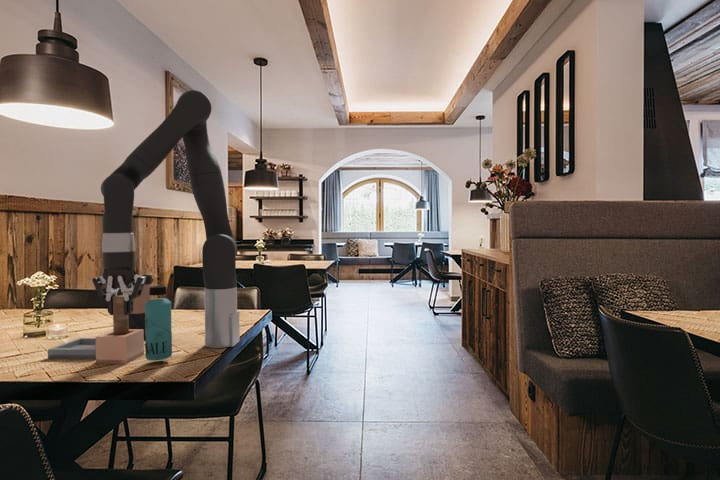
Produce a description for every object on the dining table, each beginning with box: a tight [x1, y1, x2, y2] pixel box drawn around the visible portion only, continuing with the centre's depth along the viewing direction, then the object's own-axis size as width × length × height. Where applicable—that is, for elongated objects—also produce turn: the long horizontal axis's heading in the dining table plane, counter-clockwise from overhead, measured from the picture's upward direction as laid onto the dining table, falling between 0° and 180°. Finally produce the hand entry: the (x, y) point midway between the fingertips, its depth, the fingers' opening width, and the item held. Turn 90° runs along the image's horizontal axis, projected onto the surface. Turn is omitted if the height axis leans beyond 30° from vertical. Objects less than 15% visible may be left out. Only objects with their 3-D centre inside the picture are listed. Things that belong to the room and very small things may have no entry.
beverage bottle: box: [144, 285, 174, 361], centre depth 104 cm, size 6×7×20 cm
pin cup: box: [95, 329, 145, 365], centre depth 107 cm, size 8×8×7 cm
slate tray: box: [47, 337, 96, 360], centre depth 114 cm, size 14×12×2 cm
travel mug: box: [128, 274, 154, 341], centre depth 128 cm, size 8×8×20 cm
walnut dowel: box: [112, 294, 129, 335], centre depth 107 cm, size 4×4×12 cm
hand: (120, 314), depth 107 cm, fingers closed on walnut dowel, 3 cm apart
